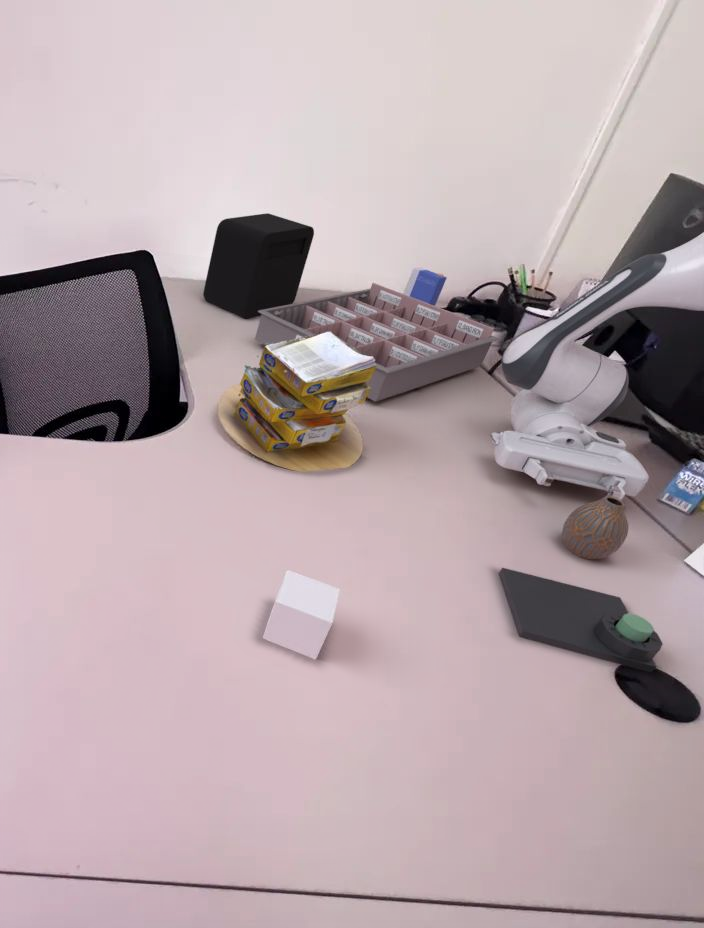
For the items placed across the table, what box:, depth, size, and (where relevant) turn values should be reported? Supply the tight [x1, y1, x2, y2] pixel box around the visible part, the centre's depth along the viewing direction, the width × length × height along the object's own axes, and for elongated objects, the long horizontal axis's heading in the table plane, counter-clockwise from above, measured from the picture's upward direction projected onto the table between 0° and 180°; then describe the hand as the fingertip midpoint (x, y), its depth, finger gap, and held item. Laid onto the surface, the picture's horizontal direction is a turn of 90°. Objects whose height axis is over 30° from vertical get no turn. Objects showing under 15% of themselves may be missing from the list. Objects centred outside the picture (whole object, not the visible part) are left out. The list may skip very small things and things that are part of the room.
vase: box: [561, 496, 630, 560], centre depth 93 cm, size 7×7×9 cm
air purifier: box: [202, 213, 315, 320], centre depth 163 cm, size 20×15×20 cm
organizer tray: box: [254, 282, 499, 403], centre depth 144 cm, size 32×40×10 cm
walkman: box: [402, 267, 448, 306], centre depth 169 cm, size 8×3×12 cm, turn 27°
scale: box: [498, 567, 664, 674], centre depth 83 cm, size 14×12×3 cm
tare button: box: [615, 613, 655, 643], centre depth 78 cm, size 3×3×2 cm
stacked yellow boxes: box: [216, 332, 376, 473], centre depth 112 cm, size 25×25×17 cm
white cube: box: [262, 569, 341, 661], centre depth 76 cm, size 6×6×6 cm
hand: (581, 489), depth 100 cm, fingers open, 8 cm apart
